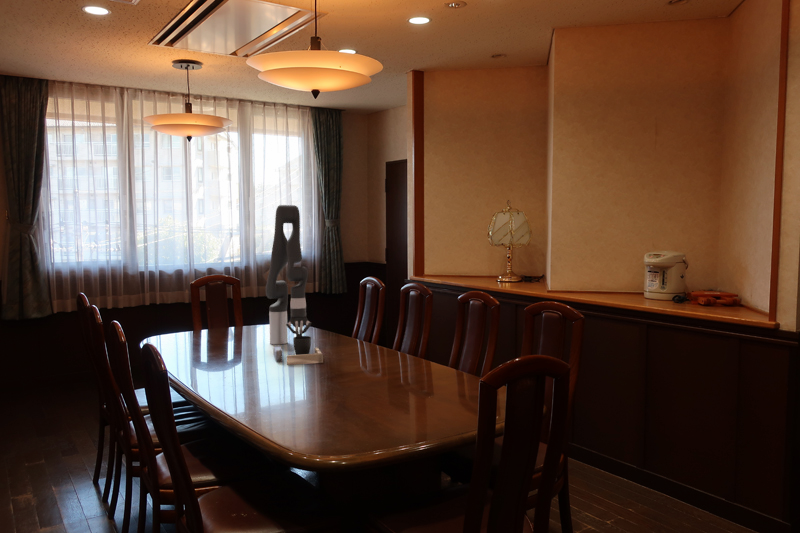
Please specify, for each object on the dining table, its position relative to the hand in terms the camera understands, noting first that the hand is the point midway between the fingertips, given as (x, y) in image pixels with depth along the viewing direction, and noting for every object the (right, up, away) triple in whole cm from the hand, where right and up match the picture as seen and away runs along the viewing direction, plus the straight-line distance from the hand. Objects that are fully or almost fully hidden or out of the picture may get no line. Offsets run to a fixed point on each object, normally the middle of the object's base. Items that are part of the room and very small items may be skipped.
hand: (299, 341), depth 296 cm
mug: (+3, -6, -11) cm, 13 cm away
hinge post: (-6, -7, -21) cm, 23 cm away
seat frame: (+5, -6, -19) cm, 20 cm away
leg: (-8, -6, -13) cm, 16 cm away
